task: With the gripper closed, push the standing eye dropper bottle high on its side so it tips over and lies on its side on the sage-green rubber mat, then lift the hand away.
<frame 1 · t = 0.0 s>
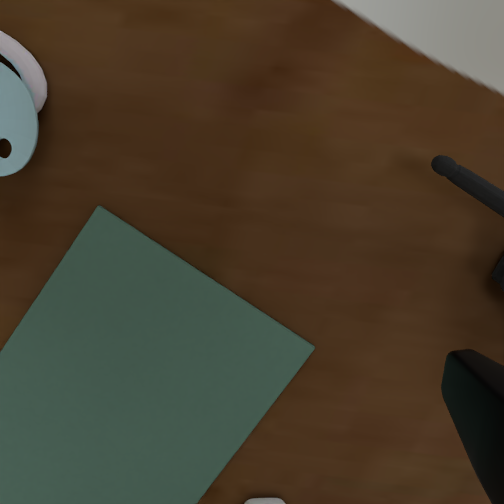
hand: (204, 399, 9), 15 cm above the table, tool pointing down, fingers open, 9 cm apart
mat: (103, 431, 25), on the table
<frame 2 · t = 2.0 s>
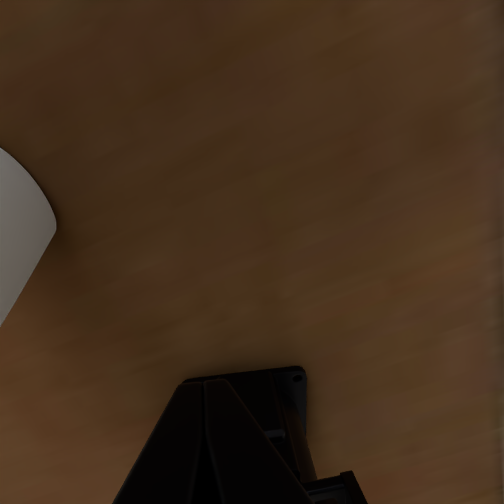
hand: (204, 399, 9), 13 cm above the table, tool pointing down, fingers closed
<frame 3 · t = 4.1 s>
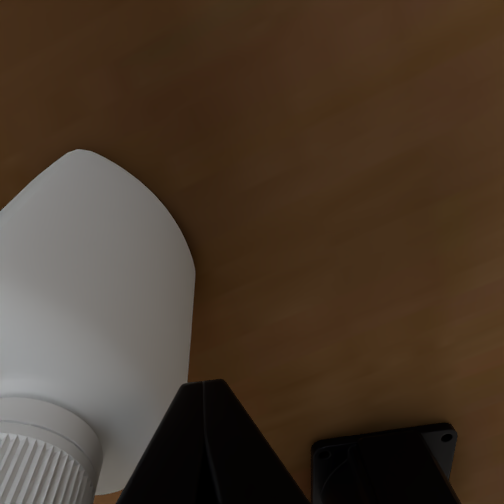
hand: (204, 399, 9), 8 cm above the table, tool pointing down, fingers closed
eye dropper bottle: (121, 226, 16), on the table, touching gripper
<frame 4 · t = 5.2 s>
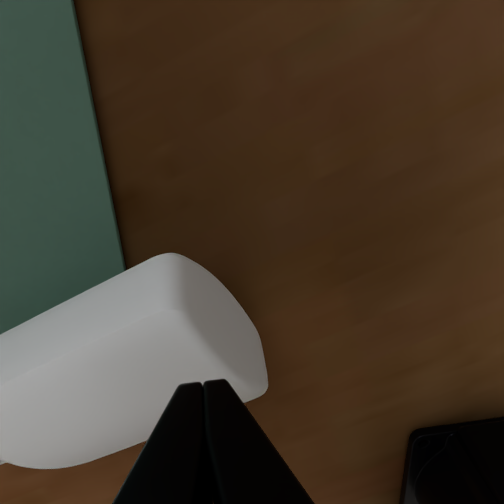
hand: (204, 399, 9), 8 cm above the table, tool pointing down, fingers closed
eye dropper bottle: (233, 321, 14), point 3 cm above the table, touching mat
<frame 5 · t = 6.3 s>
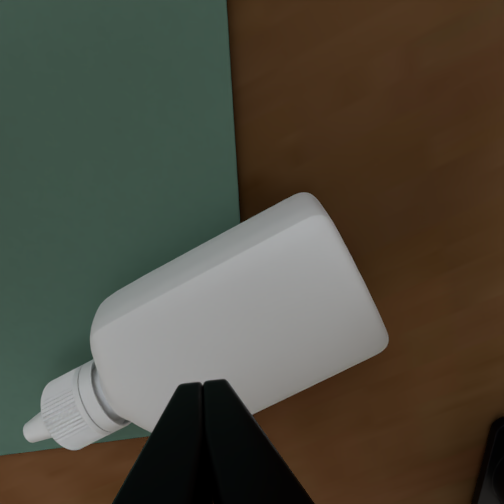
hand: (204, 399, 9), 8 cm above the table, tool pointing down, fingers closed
eye dropper bottle: (359, 264, 15), point 2 cm above the table, touching mat
mat: (25, 206, 15), on the table
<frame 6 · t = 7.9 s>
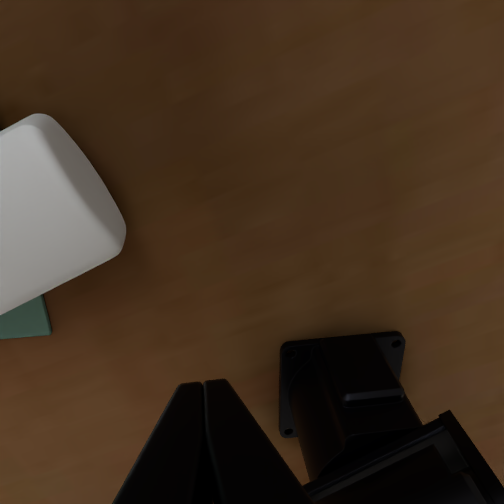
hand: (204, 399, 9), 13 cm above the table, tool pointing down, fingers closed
eye dropper bottle: (93, 178, 17), point 2 cm above the table, touching mat
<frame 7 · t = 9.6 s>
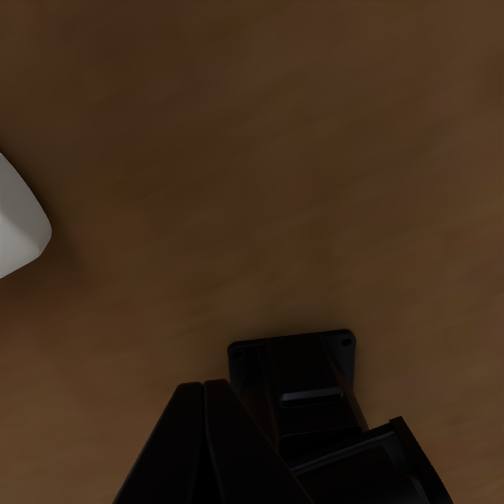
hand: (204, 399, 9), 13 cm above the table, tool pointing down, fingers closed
eye dropper bottle: (8, 180, 17), point 2 cm above the table, touching mat
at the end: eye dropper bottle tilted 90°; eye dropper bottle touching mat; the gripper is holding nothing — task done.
